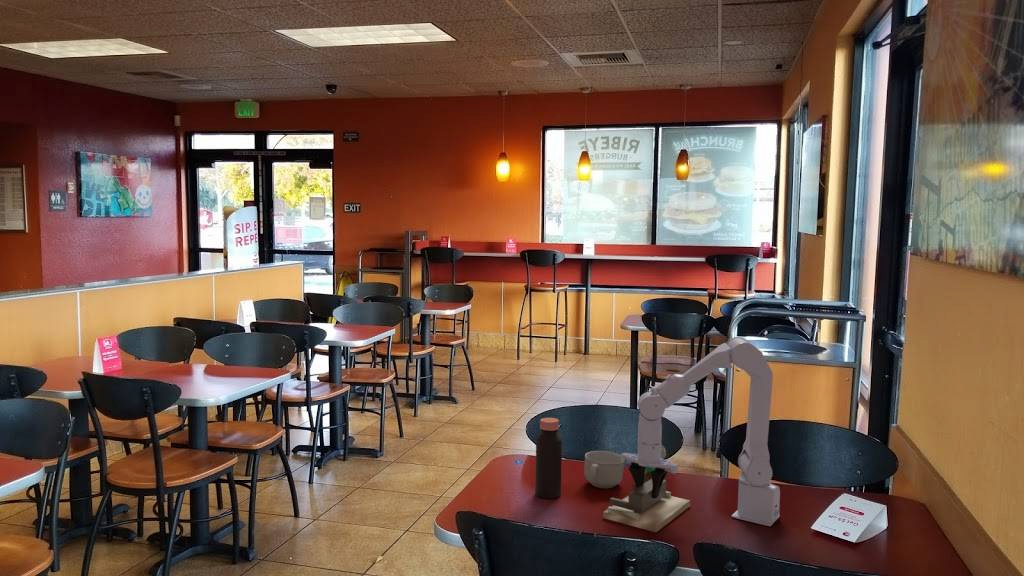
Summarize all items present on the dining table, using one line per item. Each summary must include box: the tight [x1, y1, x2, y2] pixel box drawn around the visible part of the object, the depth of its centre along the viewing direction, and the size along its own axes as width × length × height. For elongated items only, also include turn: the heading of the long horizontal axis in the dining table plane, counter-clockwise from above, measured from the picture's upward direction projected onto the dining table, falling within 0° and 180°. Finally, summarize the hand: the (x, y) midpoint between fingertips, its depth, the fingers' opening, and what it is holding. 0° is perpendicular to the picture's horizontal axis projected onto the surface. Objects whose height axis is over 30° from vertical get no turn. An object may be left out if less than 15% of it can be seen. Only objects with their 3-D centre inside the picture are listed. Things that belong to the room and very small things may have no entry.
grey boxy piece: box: [609, 479, 667, 513], centre depth 191 cm, size 8×14×4 cm, turn 145°
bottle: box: [534, 417, 563, 500], centre depth 200 cm, size 7×7×20 cm
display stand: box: [602, 490, 691, 533], centre depth 190 cm, size 14×20×3 cm
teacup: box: [583, 450, 625, 489], centre depth 207 cm, size 14×11×8 cm
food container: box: [644, 443, 667, 483], centre depth 211 cm, size 12×6×10 cm, turn 179°
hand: (647, 495), depth 190 cm, fingers closed on grey boxy piece, 3 cm apart
